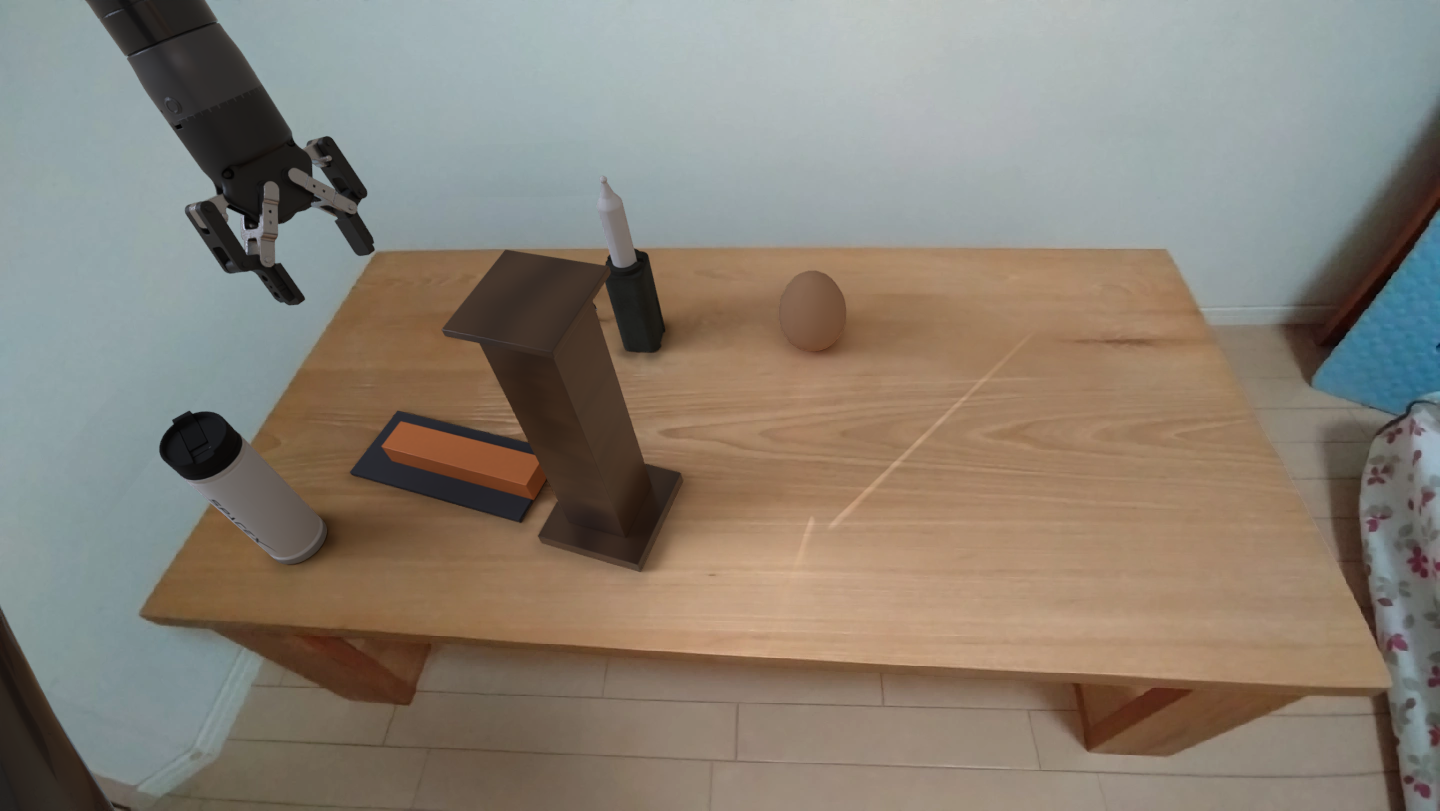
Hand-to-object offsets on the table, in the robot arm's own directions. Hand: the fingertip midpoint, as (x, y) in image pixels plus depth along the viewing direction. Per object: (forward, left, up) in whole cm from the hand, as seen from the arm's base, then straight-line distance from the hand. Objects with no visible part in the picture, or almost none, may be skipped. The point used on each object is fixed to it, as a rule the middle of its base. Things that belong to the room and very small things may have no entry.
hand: (333, 277), depth 70 cm
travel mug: (-17, +8, -30) cm, 35 cm away
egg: (+38, -27, -30) cm, 55 cm away
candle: (+28, -7, -30) cm, 42 cm away
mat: (0, 0, -30) cm, 30 cm away
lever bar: (+1, -2, -29) cm, 29 cm away
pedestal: (+5, -21, -30) cm, 37 cm away
